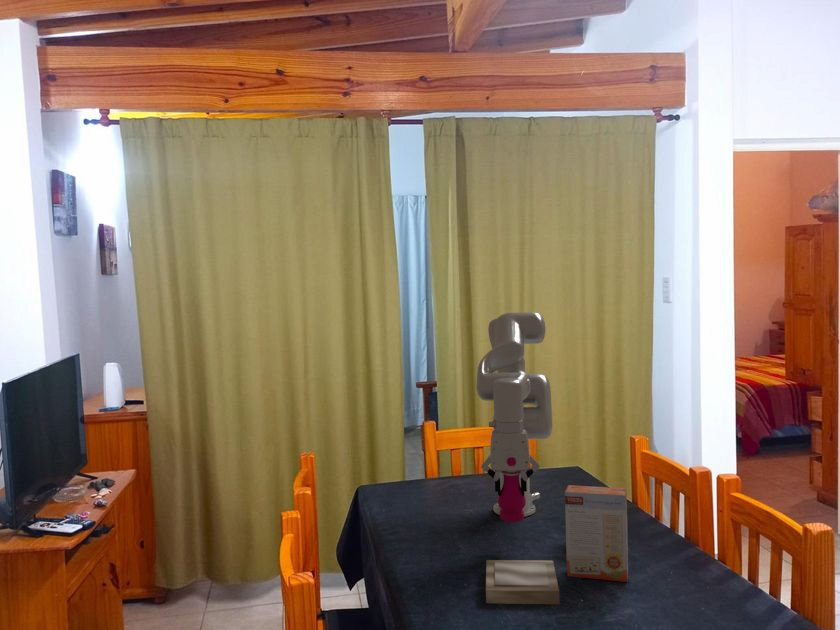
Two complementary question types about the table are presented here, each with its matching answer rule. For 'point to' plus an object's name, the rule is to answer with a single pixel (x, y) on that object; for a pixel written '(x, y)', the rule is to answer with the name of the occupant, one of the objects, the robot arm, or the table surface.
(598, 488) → the cracker box
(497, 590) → the birch plinth
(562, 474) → the table surface
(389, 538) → the table surface
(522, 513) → the pepper mill
